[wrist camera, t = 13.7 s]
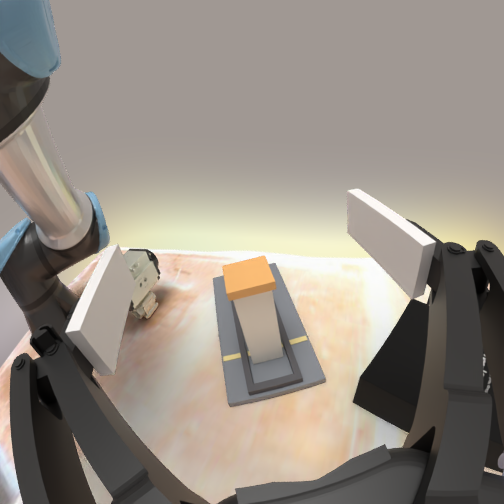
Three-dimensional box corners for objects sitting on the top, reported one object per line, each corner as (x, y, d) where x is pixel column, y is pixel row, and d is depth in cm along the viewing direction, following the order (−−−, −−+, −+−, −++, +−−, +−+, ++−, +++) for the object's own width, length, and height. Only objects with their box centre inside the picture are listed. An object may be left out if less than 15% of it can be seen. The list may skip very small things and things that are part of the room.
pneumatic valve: (122, 331, 43) (90, 278, 37) (154, 289, 52) (132, 239, 46) (143, 337, 41) (110, 282, 35) (176, 292, 50) (153, 239, 44)
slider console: (325, 382, 30) (325, 374, 29) (230, 406, 29) (226, 400, 28) (275, 267, 52) (274, 258, 51) (214, 282, 51) (211, 274, 50)
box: (352, 403, 27) (359, 376, 23) (402, 330, 34) (411, 297, 30) (504, 474, 10) (536, 457, 6) (530, 388, 16) (554, 359, 13)
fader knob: (287, 358, 33) (275, 281, 26) (250, 367, 33) (226, 293, 26) (278, 331, 37) (264, 255, 30) (245, 340, 37) (222, 265, 30)
